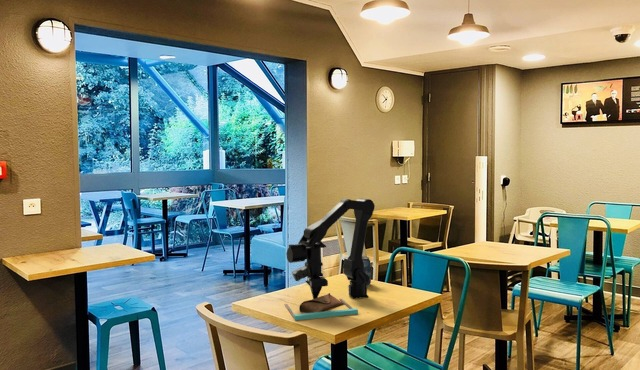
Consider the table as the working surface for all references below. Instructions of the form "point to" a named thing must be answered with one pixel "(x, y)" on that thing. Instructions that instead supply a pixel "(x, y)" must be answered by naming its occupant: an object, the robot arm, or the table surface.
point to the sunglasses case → (320, 304)
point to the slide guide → (324, 313)
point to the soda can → (367, 268)
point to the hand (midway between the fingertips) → (315, 300)
